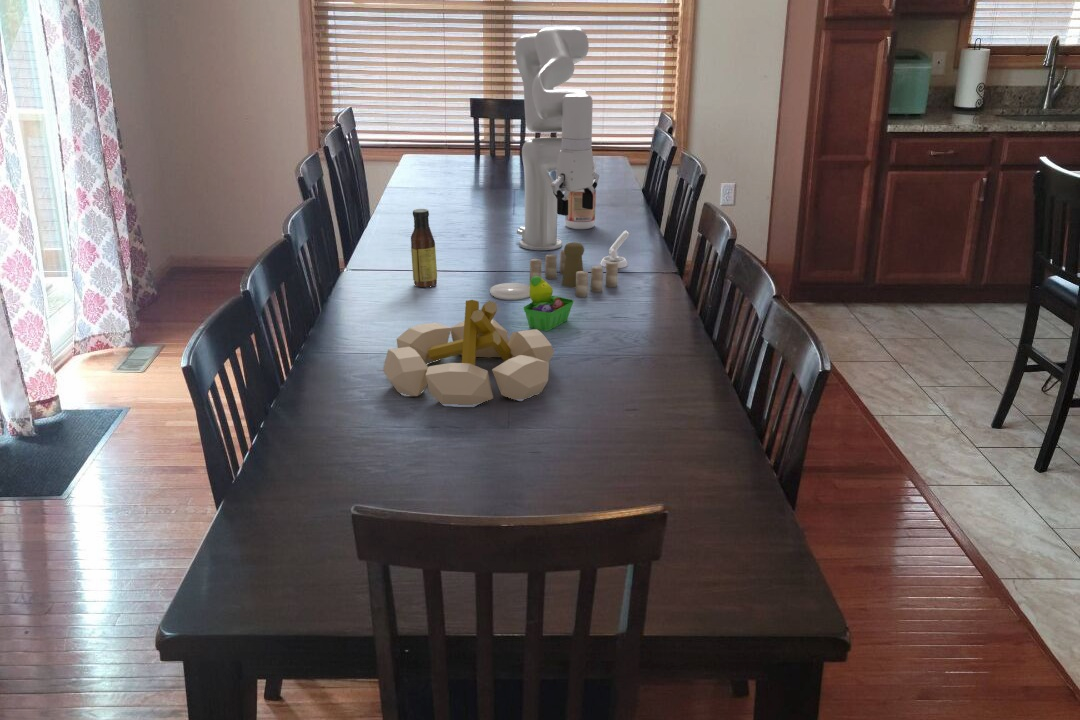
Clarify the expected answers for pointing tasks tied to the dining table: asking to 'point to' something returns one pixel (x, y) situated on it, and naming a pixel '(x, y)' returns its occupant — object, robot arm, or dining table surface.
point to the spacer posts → (577, 274)
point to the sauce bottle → (423, 251)
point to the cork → (572, 263)
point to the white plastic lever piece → (614, 254)
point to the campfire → (469, 359)
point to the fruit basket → (545, 306)
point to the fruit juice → (580, 210)
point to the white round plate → (510, 291)
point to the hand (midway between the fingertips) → (575, 211)
